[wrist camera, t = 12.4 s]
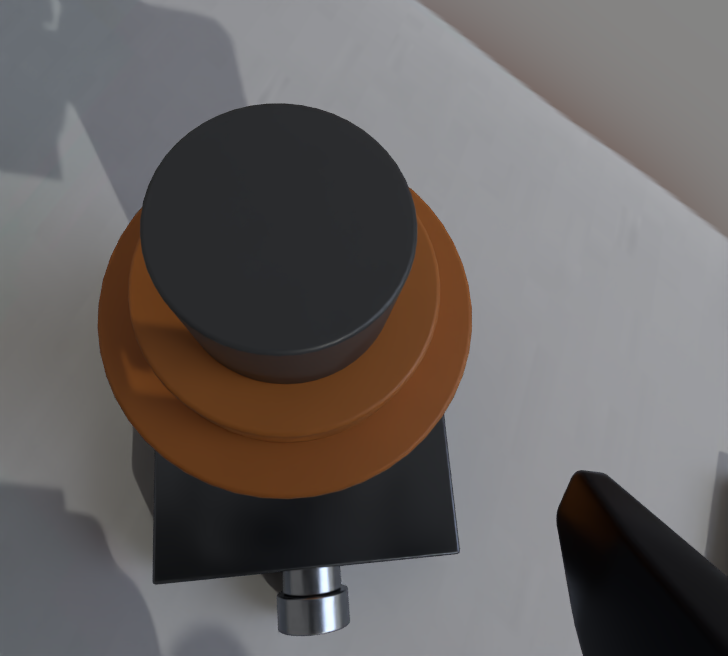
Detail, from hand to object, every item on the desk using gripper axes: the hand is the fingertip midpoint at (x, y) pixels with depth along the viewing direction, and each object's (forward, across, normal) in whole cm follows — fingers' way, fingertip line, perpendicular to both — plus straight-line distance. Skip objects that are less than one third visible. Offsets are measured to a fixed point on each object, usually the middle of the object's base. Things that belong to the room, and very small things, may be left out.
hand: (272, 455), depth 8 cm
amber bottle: (+8, 0, +5) cm, 9 cm away
